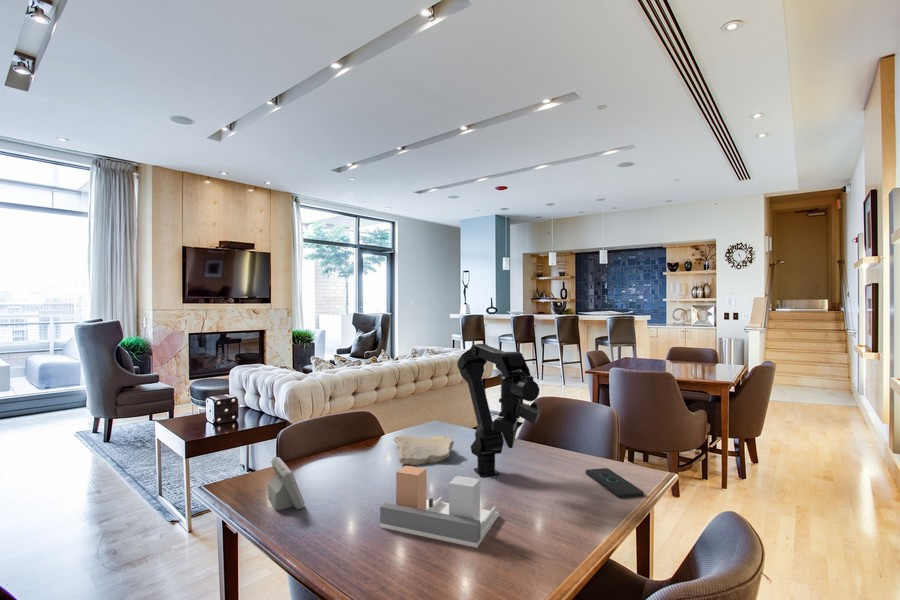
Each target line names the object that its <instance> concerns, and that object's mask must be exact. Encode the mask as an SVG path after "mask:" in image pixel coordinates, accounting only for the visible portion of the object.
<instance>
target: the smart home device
mask: <svg viewBox="0 0 900 600" xmlns="http://www.w3.org/2000/svg"><path fill="white" fill-rule="evenodd" d="M585 475H587V476H588V477H589V478H591V479H592V480H593V481H595V482H596V483H597V484H599V485H600V486H601V487H603V488H604V489H606V490H607V491H608V492H609V493H610V494H612V495H614V496H615V497H616V498H618V499H631V498H632V499H633V498H641V497H644V496H645V494H644V493H645V492H644V491H643V490H642V489H640V488H639V487H637V486H636V485H634V484H632V482H630V481H628V480H626V479H625V478H623V476H620V475H619V474H618V473H616V472H614V471H612V470H611V469H610V468H607V467H605V468H604V467H602V468H601V467H600V468H590V469H586V470H585Z"/></svg>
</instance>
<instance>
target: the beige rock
mask: <svg viewBox="0 0 900 600" xmlns="http://www.w3.org/2000/svg"><path fill="white" fill-rule="evenodd" d="M393 442H394V443H395V444H396V445H397V447H398V449H399V453H398V460H399V463H400V464H401V465H402V464H403V465H409V466H420V465H423V464H434V463H435V464H437V463H440V462H443V460H446V459H447V458H449V457H450V455H451V451H452V449H453V446H454V441H453V440H452V439H451V438H450V437H446V436H445V435H441V436H440V435H433V436H430V437H419V436H412V435H400V436H395V437H394V438H393Z"/></svg>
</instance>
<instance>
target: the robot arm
mask: <svg viewBox="0 0 900 600" xmlns="http://www.w3.org/2000/svg"><path fill="white" fill-rule="evenodd" d="M523 355H524V354H522V352H520V351H503V350H502V349H497V348H495V347H493V346H490V345H488V344H486V343H475V344H472V345H471V347H470V348H469V349H468V350H466V351H464V352H463V353H462V354H461V355H460V357H459V359H458V361H457V369H458V370H459V373H460V376H461V377H462V379H464V380H465V381H466V383H467V385H468V389H469V390H468V391H469V394H470V399H471V402H472V406H473V411H474V415H475V420H476V423H477V425H476V429H475V433H474V438H475V440H473V442H472V444H471V445H470V450H471V454H472V455H474V456H476V457H477V458H476V459H477V462H476V463H477V467H475V468H473V471H474V472H475V473H476V474H477V476H479V477H482V478H483V477H489V476H499V475H500V472H499V471H498V470H497V469H496V455H498V454H499V455H500V454H502V451H503V446H504V441H505V443H506V445H507V447H508V448H509V449H513V448H514V444H515V439H516V436H517V431H518V429H519V428H520V427H521V426H522V425H523V424H524V422H523V421H519V419H520V418H521V419H523V420H525V421H528V422H529V423H530V424H536V422H538V418H539V416H540V414H541V409H539V408H540V407H539V403H537V402H533V401H535V400H536V399H538V397H539V395H540V387H539V385H538V383H537V382H536V381H534V376H533V375H531V372H530V368H529V367H528V364H527V362H526V359H525V357H524V356H523ZM488 362H489V363H491V364H494V365H495V368H496V369H497V370H498V371H499V373H498V374H497V377H498V378H499V379H500V398H499V399H498V403H500V412H499V413H498V416H497V418H496V419H494V420H493V417H492V414H491V410H490V406H489V401H488V398H487V394H486V391H485V387H484V386H485V385H484V383H483V376H484V373H485V366H486V364H487V363H488ZM524 401H527V402H532V403H531V404H529V403H524Z"/></svg>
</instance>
